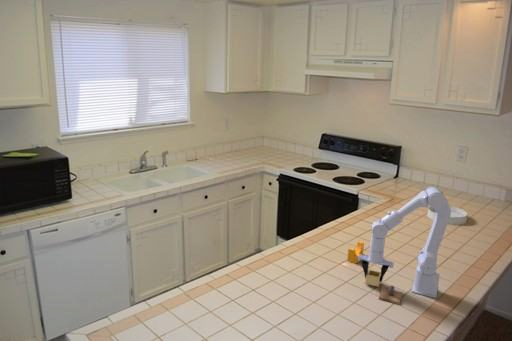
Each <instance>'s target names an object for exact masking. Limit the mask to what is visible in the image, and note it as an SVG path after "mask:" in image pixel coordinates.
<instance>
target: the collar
mask: <svg viewBox="0 0 512 341" xmlns="http://www.w3.org/2000/svg"><path fill="white" fill-rule="evenodd" d="M380 277H381V271H377V270H373V269H368V272H367V274H366V278H365V282H364V283H365V284H366V285H369V286H374V287H378V288H379V287H380V285H381V282H380Z"/></svg>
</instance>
